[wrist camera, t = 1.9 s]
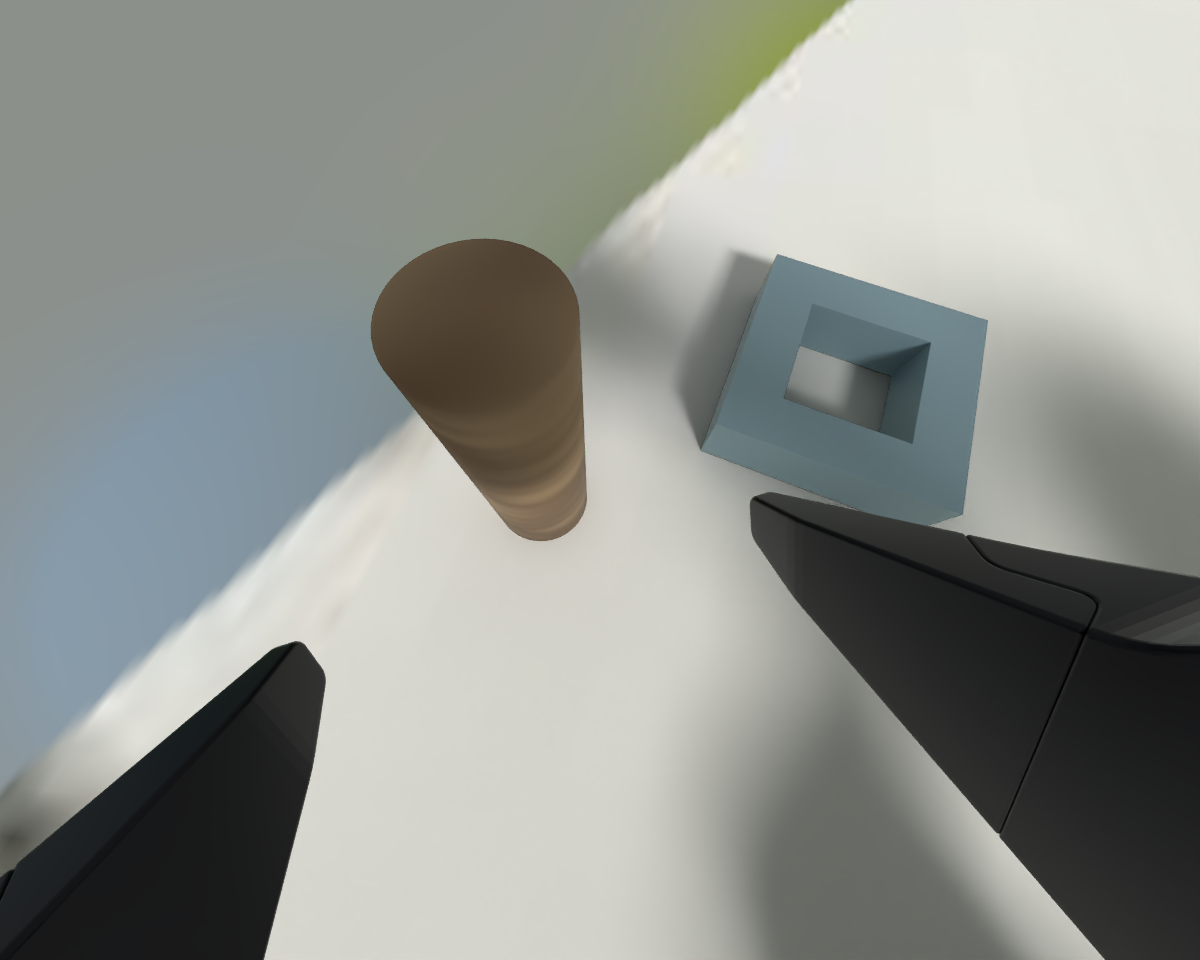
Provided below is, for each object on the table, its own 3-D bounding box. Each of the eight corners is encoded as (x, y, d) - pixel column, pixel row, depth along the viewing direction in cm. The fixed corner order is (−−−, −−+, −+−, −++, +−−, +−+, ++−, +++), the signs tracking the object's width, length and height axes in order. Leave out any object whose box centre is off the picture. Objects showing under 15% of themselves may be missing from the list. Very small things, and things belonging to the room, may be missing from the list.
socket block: (943, 352, 25) (988, 316, 22) (913, 530, 21) (962, 514, 18) (758, 291, 26) (778, 250, 23) (700, 450, 22) (716, 423, 20)
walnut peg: (600, 475, 22) (610, 274, 10) (565, 554, 20) (524, 439, 8) (522, 444, 22) (436, 216, 10) (482, 520, 21) (328, 362, 9)
